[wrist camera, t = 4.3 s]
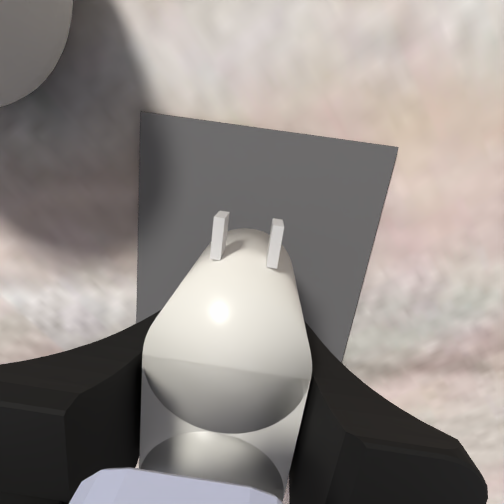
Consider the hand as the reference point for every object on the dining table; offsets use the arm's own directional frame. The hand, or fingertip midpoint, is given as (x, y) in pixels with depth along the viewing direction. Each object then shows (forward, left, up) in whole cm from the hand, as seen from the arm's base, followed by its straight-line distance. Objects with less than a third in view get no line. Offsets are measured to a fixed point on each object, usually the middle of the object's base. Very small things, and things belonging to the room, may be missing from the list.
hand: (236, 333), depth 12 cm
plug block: (0, 0, -1) cm, 1 cm away
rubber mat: (0, 0, -5) cm, 5 cm away
